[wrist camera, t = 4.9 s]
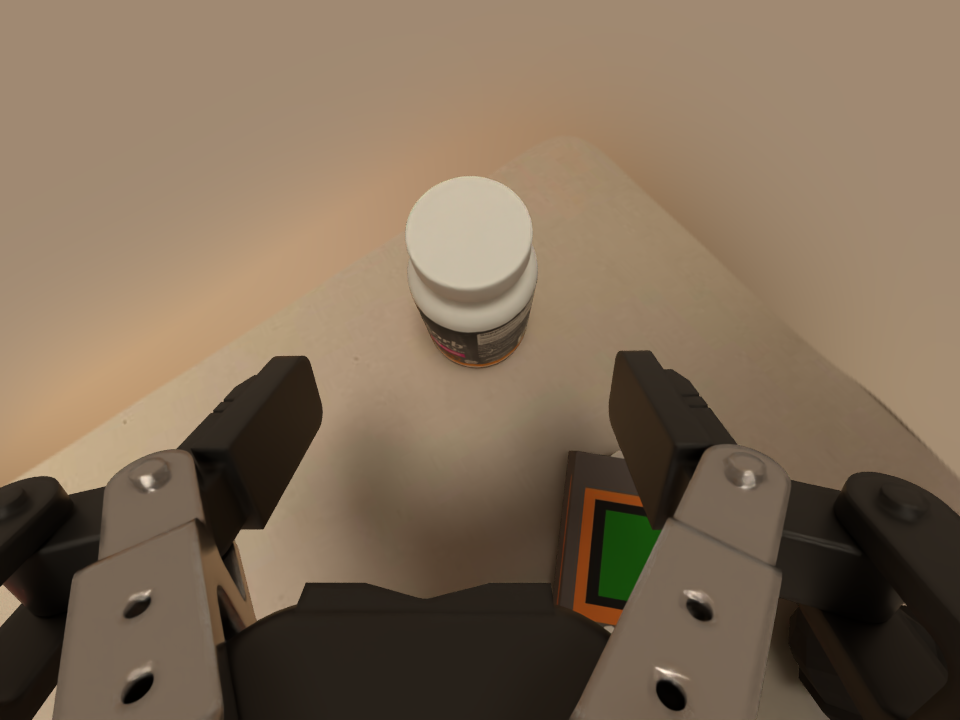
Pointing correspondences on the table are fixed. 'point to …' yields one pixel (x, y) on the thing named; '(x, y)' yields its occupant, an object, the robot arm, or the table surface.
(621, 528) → the electronic device
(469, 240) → the pill bottle
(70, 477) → the table surface
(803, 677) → the microphone
